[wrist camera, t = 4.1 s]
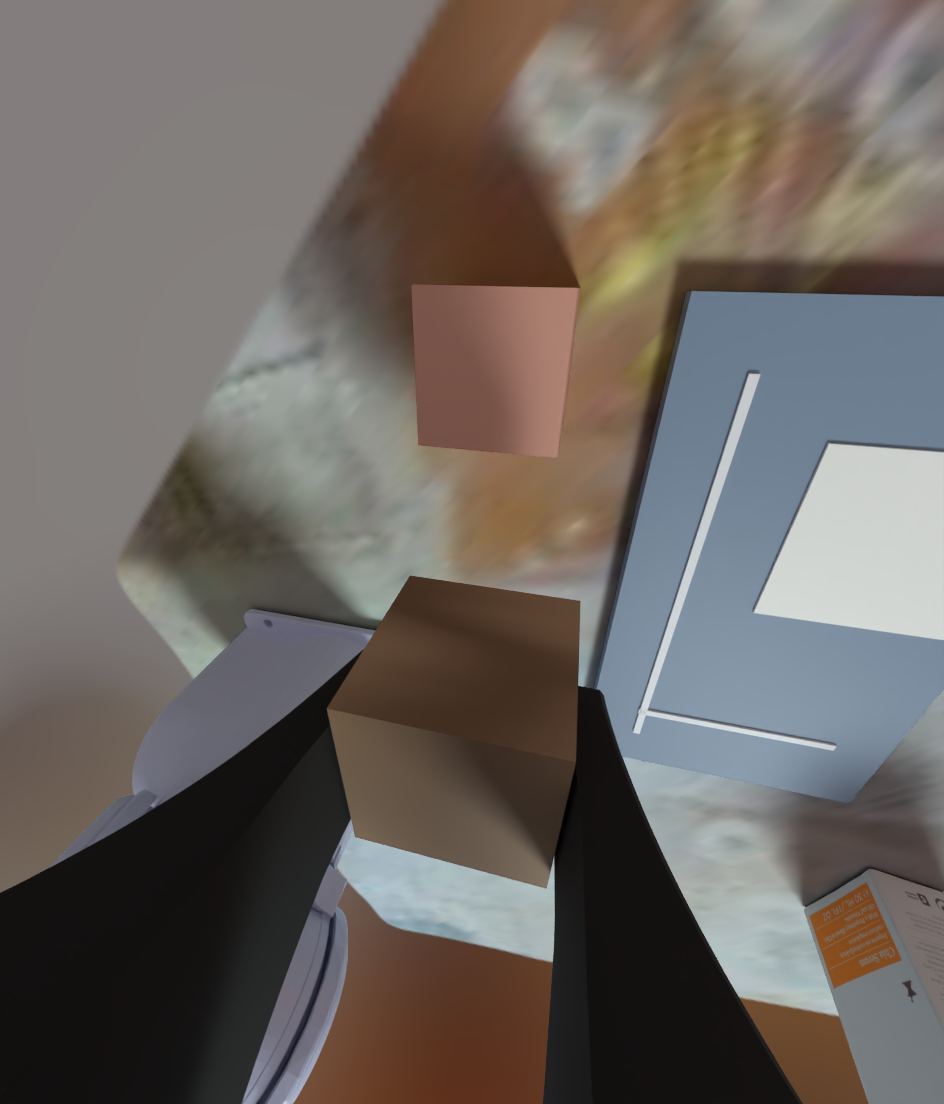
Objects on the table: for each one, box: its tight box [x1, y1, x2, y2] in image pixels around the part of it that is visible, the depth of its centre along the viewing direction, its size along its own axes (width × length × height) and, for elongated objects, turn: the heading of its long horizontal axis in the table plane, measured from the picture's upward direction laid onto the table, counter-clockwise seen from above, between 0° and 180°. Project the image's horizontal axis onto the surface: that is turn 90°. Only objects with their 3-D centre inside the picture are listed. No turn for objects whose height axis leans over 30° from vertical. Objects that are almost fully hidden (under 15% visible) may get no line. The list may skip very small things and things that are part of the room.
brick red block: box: [411, 284, 581, 458], centre depth 13 cm, size 4×4×4 cm
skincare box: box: [804, 869, 944, 1104], centre depth 20 cm, size 6×4×12 cm
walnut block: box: [327, 576, 580, 888], centre depth 10 cm, size 4×4×4 cm
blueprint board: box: [594, 291, 944, 803], centre depth 16 cm, size 12×20×1 cm, turn 178°
